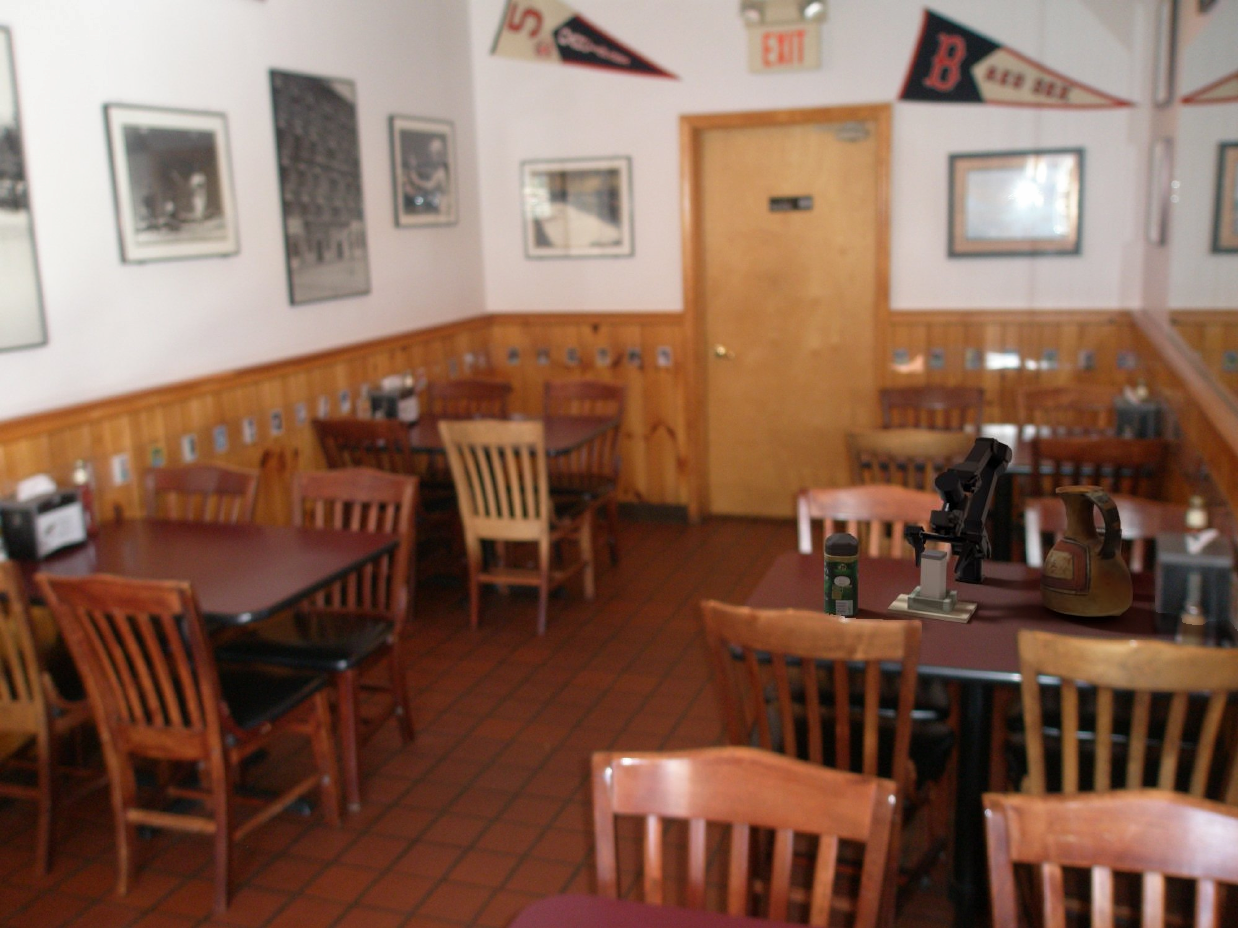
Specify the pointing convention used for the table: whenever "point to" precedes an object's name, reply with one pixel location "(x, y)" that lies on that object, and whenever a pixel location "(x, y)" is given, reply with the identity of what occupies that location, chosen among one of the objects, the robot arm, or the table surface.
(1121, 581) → the ceramic pitcher
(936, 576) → the connector plug
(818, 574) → the table surface
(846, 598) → the coffee jar
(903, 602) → the end holder
